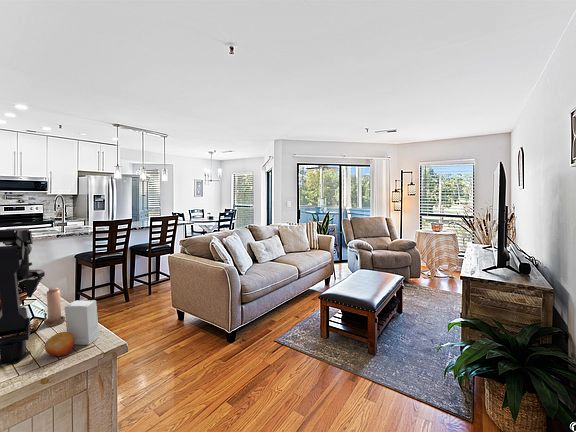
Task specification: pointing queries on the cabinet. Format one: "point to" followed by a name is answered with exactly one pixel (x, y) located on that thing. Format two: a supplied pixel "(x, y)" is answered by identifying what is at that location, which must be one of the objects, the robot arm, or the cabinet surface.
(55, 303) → the vase
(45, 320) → the coaster
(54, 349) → the fruit
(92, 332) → the skincare box
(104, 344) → the cabinet surface
